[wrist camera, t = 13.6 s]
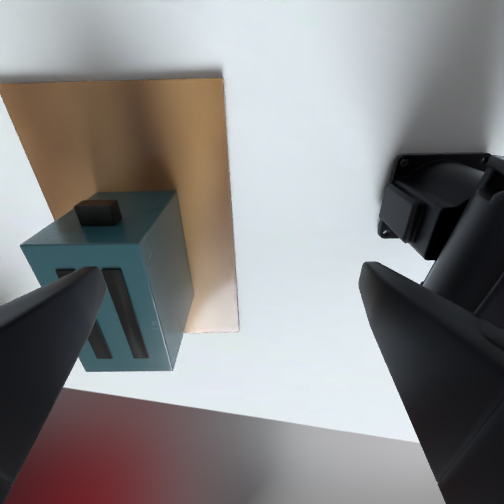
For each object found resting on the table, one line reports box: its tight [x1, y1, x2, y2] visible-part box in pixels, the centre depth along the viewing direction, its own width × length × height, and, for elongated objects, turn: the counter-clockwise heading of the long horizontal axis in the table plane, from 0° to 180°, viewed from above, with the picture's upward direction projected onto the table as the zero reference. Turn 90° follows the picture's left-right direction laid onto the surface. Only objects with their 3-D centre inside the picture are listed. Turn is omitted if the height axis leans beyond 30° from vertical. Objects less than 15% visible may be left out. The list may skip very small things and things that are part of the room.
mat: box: [0, 78, 239, 333], centre depth 23 cm, size 14×22×1 cm, turn 1°
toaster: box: [20, 191, 194, 372], centre depth 19 cm, size 11×6×8 cm, turn 1°
